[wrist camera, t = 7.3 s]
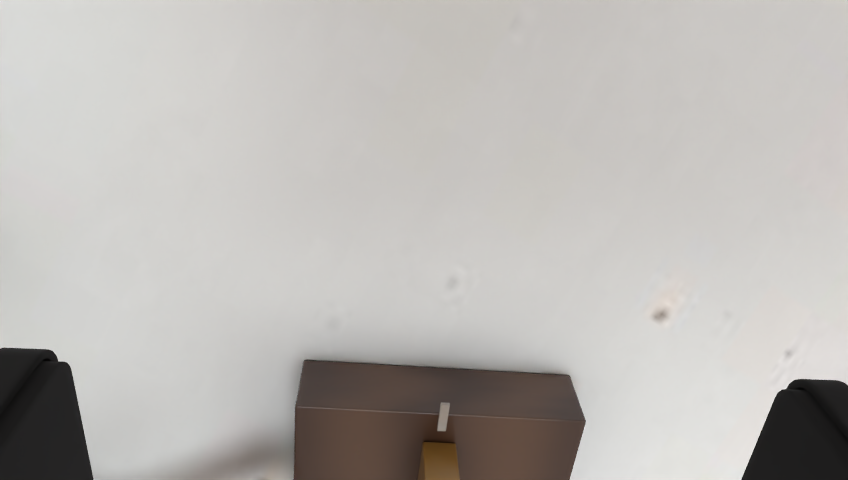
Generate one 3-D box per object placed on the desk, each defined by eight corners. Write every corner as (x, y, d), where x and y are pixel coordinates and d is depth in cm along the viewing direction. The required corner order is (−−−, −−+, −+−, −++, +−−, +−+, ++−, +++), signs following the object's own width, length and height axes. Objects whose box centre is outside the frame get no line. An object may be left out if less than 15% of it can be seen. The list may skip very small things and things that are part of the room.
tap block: (572, 364, 31) (590, 412, 28) (532, 520, 35) (544, 575, 32) (304, 348, 30) (294, 397, 27) (299, 511, 34) (291, 567, 31)
